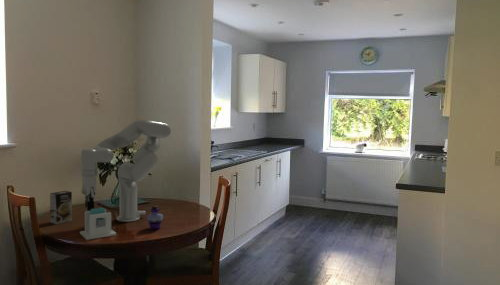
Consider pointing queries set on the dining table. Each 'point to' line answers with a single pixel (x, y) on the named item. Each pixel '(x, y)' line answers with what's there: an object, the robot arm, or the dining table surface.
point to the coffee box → (60, 207)
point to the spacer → (97, 211)
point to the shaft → (98, 220)
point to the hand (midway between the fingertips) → (89, 207)
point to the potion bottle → (154, 218)
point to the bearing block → (94, 230)
